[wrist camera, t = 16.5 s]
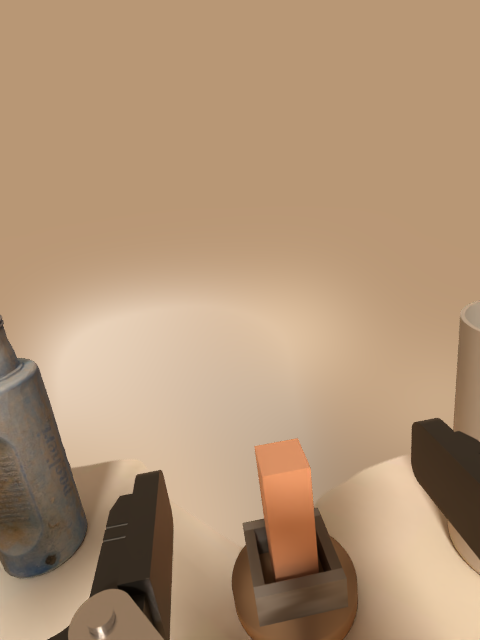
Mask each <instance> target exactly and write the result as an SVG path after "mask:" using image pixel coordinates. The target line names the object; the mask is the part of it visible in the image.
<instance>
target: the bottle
mask: <svg viewBox="0 0 480 640" xmlns="http://www.w3.org/2000/svg"><path fill="white" fill-rule="evenodd" d="M3 324H4V323H3V320H2V316H1V315H0V560H1V563H2V564H3V566H4V569H5V571H6V572H7V573H8V574H9V575H11V576H14V577H17V578H31V577H35V576H39V575H42V574H45V573H47V572H49V571H51V570H53V569H55V568H57V567H58V566H60V565H61V564H63V563H64V562H65V561H66V560H67V559H69V558H70V557H71V556H72V555H73V554H74V552H75V551H76V550H77V549H78V547H79V546H80V544H81V543H82V541H83V539H84V537H85V534H86V530H87V520H86V516H85V513H84V510H83V507H82V504H81V500H80V498H79V494H78V491H77V488H76V485H75V482H74V479H73V475H72V472H71V467H70V464H69V462H68V460H67V457H66V453H65V449H64V447H63V444H62V442H61V438H60V434H59V431H58V427H57V424H56V421H55V418H54V414H53V411H52V407H51V404H50V401H49V398H48V395H47V392H46V389H45V386H44V383H43V380H42V377H41V373H40V370H39V368H38V366H37V364H36V363H35V362H34V361H32V360H30V359H25V358H17V357H16V355H15V352H14V350H13V348H12V346H11V344H10V343H9V341H8V339H7V337H6V333H5V330H4V327H3Z"/></svg>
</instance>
